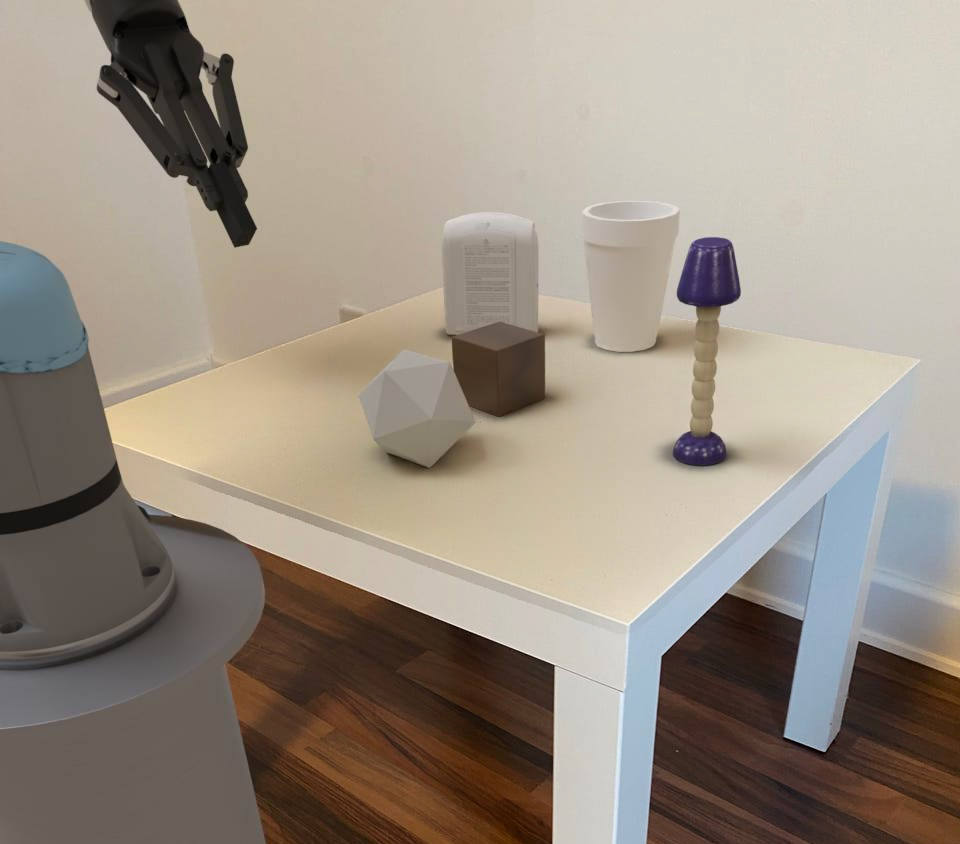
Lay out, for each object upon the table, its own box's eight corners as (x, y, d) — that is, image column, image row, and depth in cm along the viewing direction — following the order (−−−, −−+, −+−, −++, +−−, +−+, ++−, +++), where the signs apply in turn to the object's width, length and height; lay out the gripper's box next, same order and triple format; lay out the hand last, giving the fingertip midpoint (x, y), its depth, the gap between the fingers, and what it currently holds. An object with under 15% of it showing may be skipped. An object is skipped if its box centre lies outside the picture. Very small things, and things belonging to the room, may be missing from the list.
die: (497, 459, 85) (471, 344, 85) (453, 446, 76) (425, 318, 77) (408, 486, 88) (384, 375, 88) (357, 477, 80) (331, 354, 80)
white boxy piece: (541, 327, 111) (540, 207, 104) (536, 339, 108) (535, 217, 101) (449, 326, 113) (442, 208, 106) (442, 338, 109) (435, 217, 103)
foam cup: (689, 344, 105) (699, 211, 97) (618, 363, 101) (623, 226, 93) (631, 322, 111) (636, 196, 104) (562, 339, 108) (563, 209, 100)
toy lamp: (711, 472, 79) (732, 251, 70) (656, 461, 81) (669, 244, 72) (733, 450, 83) (756, 235, 73) (680, 439, 85) (696, 230, 75)
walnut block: (498, 416, 91) (496, 351, 87) (454, 400, 94) (451, 336, 91) (545, 398, 94) (545, 334, 90) (501, 383, 98) (499, 321, 94)
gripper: (62, -33, 84) (188, 228, 84) (205, -39, 90) (321, 202, 91) (53, 32, 90) (170, 274, 91) (187, 22, 97) (295, 247, 97)
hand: (245, 237), depth 91 cm, fingers closed
